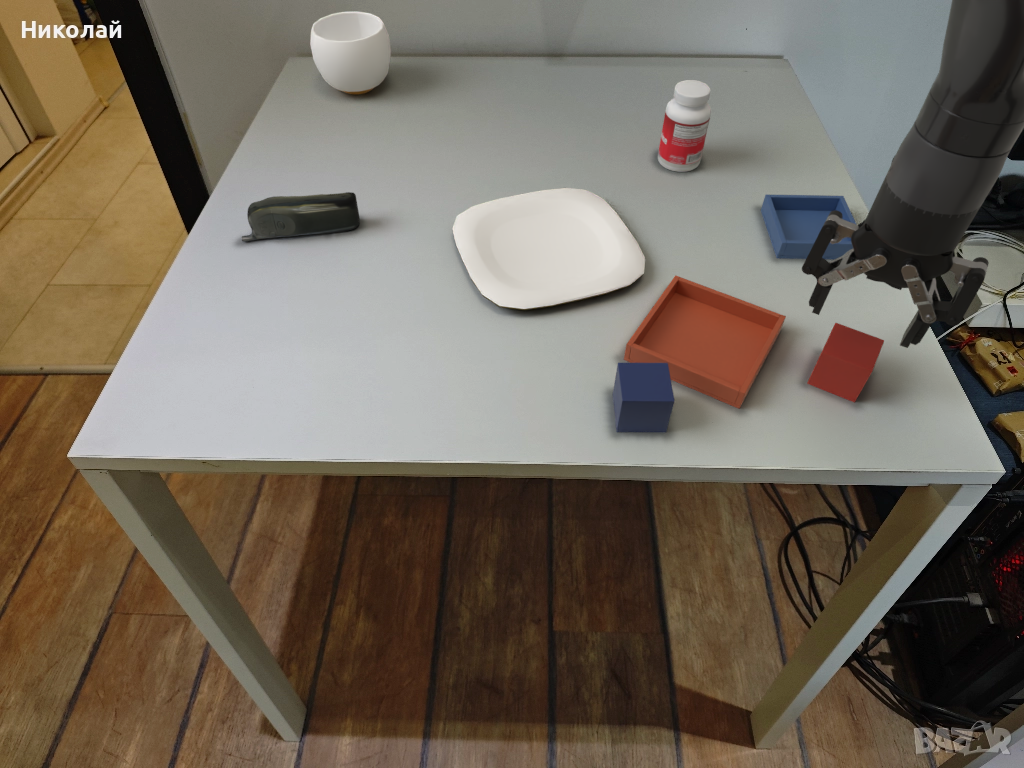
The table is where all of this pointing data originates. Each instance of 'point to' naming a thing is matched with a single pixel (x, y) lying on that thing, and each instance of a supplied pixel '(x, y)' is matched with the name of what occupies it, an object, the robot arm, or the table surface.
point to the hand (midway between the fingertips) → (860, 325)
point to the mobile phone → (302, 215)
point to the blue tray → (802, 223)
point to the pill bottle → (685, 126)
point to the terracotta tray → (706, 339)
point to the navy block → (642, 397)
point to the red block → (846, 362)
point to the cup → (351, 50)
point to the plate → (547, 248)
